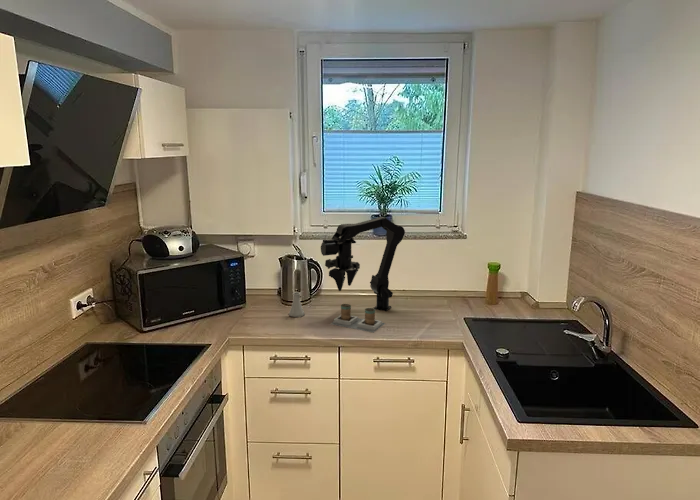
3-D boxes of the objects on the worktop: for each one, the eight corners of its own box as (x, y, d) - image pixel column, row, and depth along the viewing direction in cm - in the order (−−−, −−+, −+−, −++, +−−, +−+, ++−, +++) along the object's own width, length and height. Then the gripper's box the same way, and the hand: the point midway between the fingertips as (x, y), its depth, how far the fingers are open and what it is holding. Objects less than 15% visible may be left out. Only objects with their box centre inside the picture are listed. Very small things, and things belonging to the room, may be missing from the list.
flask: (306, 312, 228) (306, 291, 226) (303, 317, 221) (303, 295, 219) (290, 311, 228) (290, 290, 226) (287, 317, 221) (286, 295, 219)
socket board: (343, 317, 221) (343, 312, 220) (385, 325, 212) (385, 319, 212) (329, 326, 210) (329, 320, 210) (373, 335, 202) (373, 329, 201)
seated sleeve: (367, 323, 211) (367, 307, 210) (376, 325, 210) (376, 308, 208) (362, 326, 208) (363, 310, 206) (372, 328, 206) (372, 311, 204)
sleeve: (343, 318, 216) (343, 303, 215) (352, 320, 214) (352, 304, 213) (339, 322, 213) (339, 306, 211) (347, 323, 211) (348, 307, 209)
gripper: (338, 247, 232) (338, 280, 235) (317, 255, 215) (318, 291, 219) (360, 250, 227) (360, 283, 230) (341, 258, 211) (341, 294, 214)
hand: (344, 288), depth 223 cm, fingers open, 9 cm apart
